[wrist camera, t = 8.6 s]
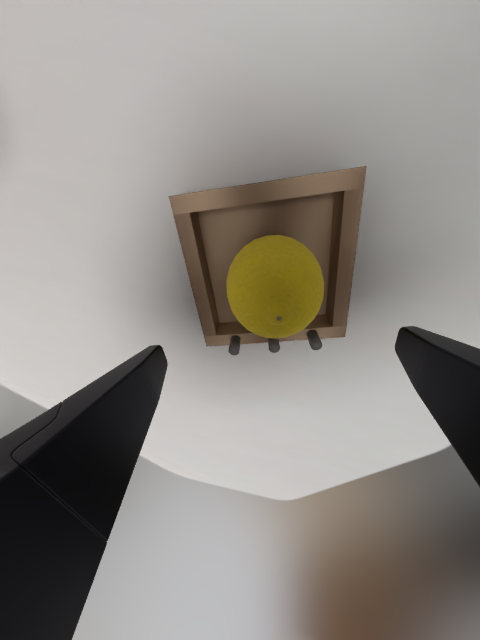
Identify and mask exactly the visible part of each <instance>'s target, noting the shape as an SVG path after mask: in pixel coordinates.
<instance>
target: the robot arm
mask: <svg viewBox="0 0 480 640" xmlns="http://www.w3.org/2000/svg"><path fill="white" fill-rule="evenodd" d="M395 351H396V353H397V355H398V357H399V359H400V361H401V363H402V365H403V367H404V369H405V371H406V373H407V375H408V377H409V379H410V381H411V383H412V384H413V386H414V388H415V390H416V391H417V393H418V395H419V396H420V398H421V399H422V401H423V402H424V404H425V405H426V407H427V408H428V410H429V411H430V413H431V414H432V416H433V417H434V419H435V420H436V422H437V423H438V425H439V426H440V428H441V429H442V431H443V432H444V434H445V435H446V437H447V438H448V440H449V441H450V443H451V445H452V446H453V447H454V449H455V451H456V452H457V454H458V455H459V456H460V458H461V460H462V461H463V463H464V464H465V466H466V467H467V469H468V470H469V472H470V473H471V475H472V476H473V478H474V479H475V481H476V482H477V484H478V485H479V487H480V349H479V348H476V347H473V346H470V345H467V344H464V343H461V342H459V341H456V340H453V339H450V338H447V337H444V336H441V335H438V334H436V333H433V332H430V331H427V330H424V329H421V328H418V327H415V326H409V327H402V328H400V330H399V332H398V336H397V340H396V344H395ZM167 365H168V364H167V359H166V356H165V354H164V351H163V348H162V347H161V346H160V345H153V346H149V347H147V348H146V349H144V350H143V351H141V352H139V353H138V354H136V355H135V356H133V357H132V358H130V359H128V360H127V361H125V362H124V363H122V364H120V365H119V366H117V367H116V368H114V369H113V370H111V371H109V372H108V373H106V374H105V375H103V376H101V377H100V378H98V379H97V380H95V381H94V382H92V383H90V384H89V385H87V386H86V387H84V388H83V389H81V390H79V391H78V392H76V393H75V394H73V395H71V396H70V397H68V398H67V399H65V400H64V401H63V402H60V403H59V404H57V405H56V406H54V407H52V408H51V409H49V410H48V411H46V412H44V413H43V414H41V415H39V416H38V417H36V418H35V419H33V420H31V421H30V422H28V423H26V424H25V425H23V426H21V427H20V428H18V429H16V430H14V431H13V432H11V433H9V434H8V435H6V436H4V437H2V438H1V439H0V640H72V637H73V635H74V632H75V629H76V627H77V623H78V621H79V618H80V615H81V613H82V610H83V607H84V604H85V602H86V599H87V596H88V594H89V591H90V588H91V586H92V583H93V580H94V577H95V574H96V572H97V569H98V566H99V563H100V561H101V558H102V555H103V553H104V550H105V547H106V544H107V542H106V541H108V538H109V536H110V533H111V530H112V528H113V525H114V522H115V519H116V516H117V514H118V511H119V508H120V506H121V503H122V500H123V497H124V495H125V492H126V489H127V486H128V484H129V481H130V478H131V475H132V473H133V470H134V467H135V465H136V462H137V459H138V456H139V454H140V451H141V448H142V445H143V443H144V440H145V437H146V435H147V432H148V429H149V426H150V424H151V421H152V418H153V415H154V413H155V410H156V407H157V404H158V401H159V398H160V394H161V390H162V386H163V382H164V378H165V374H166V370H167Z"/></svg>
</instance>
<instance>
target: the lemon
mask: <svg viewBox="0 0 480 640" xmlns="http://www.w3.org/2000/svg"><path fill="white" fill-rule="evenodd" d="M226 283H227V297H228V301H229V304H230V307H231V310H232V312H233V314H234V315H235V317H236V318H237V320H238V321H239V322H240V323H241V324H242V325H243V326H244V327H245V328H246V329H247V330H249V331H251V332H252V333H254V334H256V335H259V336H262V337H265V338H275V339H276V338H285V337H288V336H291V335H294V334H296V333H298V332H300V331H301V330H303V329H304V328H306V327H307V326H308V325H309V324H310V323H311V322H312V321H313V320H314V318H315V316H316V315H317V313H318V312H319V310H320V307H321V304H322V301H323V295H324V280H323V275H322V271H321V267H320V265H319V263H318V261H317V260H316V258H315V256H314V254H313V253H312V252H311V251H310V250H309V249H308V248H307V247H306V246H305V245H304V244H302V243H301V242H299V241H297V240H295V239H293V238H291V237H286V236H282V235H269V236H264V237H261V238H258V239H255V240H253V241H252V242H250V243H248V244H247V245H245V246H244V247H243V248H242V249H241V250H240V252H239V253H238V254H237V255H236V256H235V258H234V260H233V262H232V264H231V266H230V268H229V272H228V276H227V281H226Z"/></svg>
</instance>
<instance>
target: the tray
mask: <svg viewBox="0 0 480 640" xmlns="http://www.w3.org/2000/svg"><path fill="white" fill-rule="evenodd" d="M365 173H366V166H364V167H357V168H351V169H344V170H338V171H331V172H325V173H318V174H312V175H305V176H299V177H292V178H286V179H279V180H273V181H266V182H260V183H253V184H247V185H240V186H233V187H227V188H220V189H214V190H207V191H201V192H194V193H188V194H181V195H175V196H169V199H170V203H171V207H172V211H173V215H174V219H175V223H176V227H177V231H178V235H179V239H180V243H181V247H182V251H183V255H184V258H185V262H186V266H187V270H188V274H189V278H190V282H191V286H192V290H193V294H194V298H195V302H196V306H197V310H198V314H199V318H200V322H201V326H202V330H203V334H204V338H205V342H206V346H220V345H229V353H230V354H231V355H237V354H238V353H239V349H240V344H249V343H263V342H268V344H269V350H270V351H271V352H273V353H275V352H278V351H279V350H280V346H279V341H293V340H307V339H308V340H309V343H310V346H311V348H312V349H313V350H318V349H320V348H321V347H322V342H321V340H320V339H322V338H336V337H345V333H346V325H347V317H348V309H349V301H350V293H351V285H352V277H353V269H354V261H355V253H356V245H357V237H358V229H359V221H360V213H361V205H362V197H363V189H364V181H365ZM269 235H282V236H286V237H291V238H293V239H295V240H297V241H299V242H301V243H302V244H304V245H305V246H306V247H307V248H308V249H309V250H310V251H311V252H312V253H313V254H314V256H315V258H316V260H317V261H318V263H319V265H320V267H321V271H322V275H323V280H324V295H323V301H322V304H321V307H320V310H319V312H318V313H317V315H316V316H315V318H314V320H313V321H312V322H311V323H310V324H309V325H308V326H307V327H306V328H304V329H303V330H301V331H300V332H298V333H296V334H294V335H291V336H288V337H285V338H276V339H275V338H265V337H262V336H259V335H256V334H254V333H252V332H251V331H249V330H247V329H246V328H245V327H244V326H243V325H242V324H241V323H240V322H239V321H238V320H237V318H236V317H235V315H234V314H233V312H232V310H231V307H230V304H229V301H228V297H227V283H226V281H227V276H228V272H229V268H230V266H231V264H232V262H233V260H234V258H235V256H236V255H237V254H238V253H239V252H240V250H241V249H242V248H243V247H244V246H245V245H247V244H248V243H250V242H252V241H253V240H255V239H258V238H261V237H264V236H269Z"/></svg>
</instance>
